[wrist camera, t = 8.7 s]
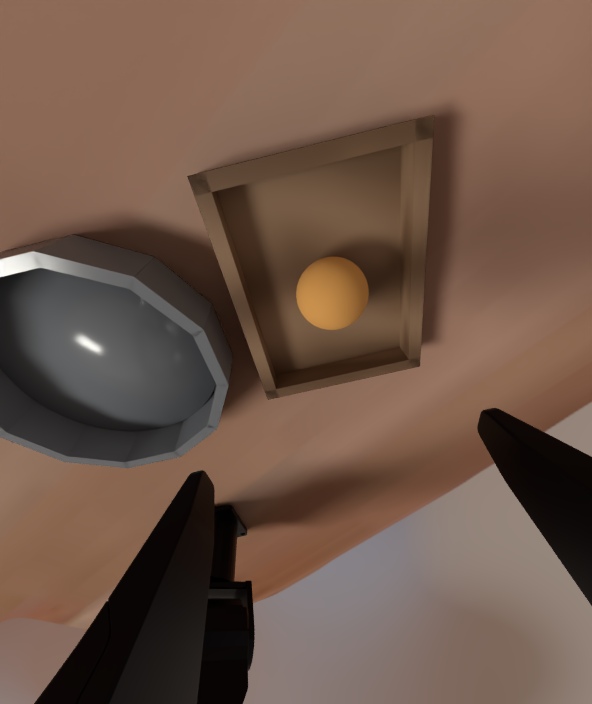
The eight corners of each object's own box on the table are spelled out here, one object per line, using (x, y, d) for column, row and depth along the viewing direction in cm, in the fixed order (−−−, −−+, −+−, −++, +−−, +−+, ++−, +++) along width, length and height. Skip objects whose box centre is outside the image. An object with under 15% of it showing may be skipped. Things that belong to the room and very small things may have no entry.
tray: (406, 349, 22) (419, 366, 20) (267, 380, 23) (267, 399, 21) (412, 119, 14) (434, 114, 12) (196, 173, 15) (187, 176, 13)
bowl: (254, 408, 24) (253, 441, 21) (79, 447, 25) (56, 483, 22) (173, 209, 15) (154, 221, 13) (-97, 275, 16) (-170, 300, 13)
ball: (358, 303, 19) (381, 333, 16) (299, 317, 19) (309, 350, 16) (353, 240, 17) (377, 261, 13) (285, 257, 17) (293, 281, 13)
